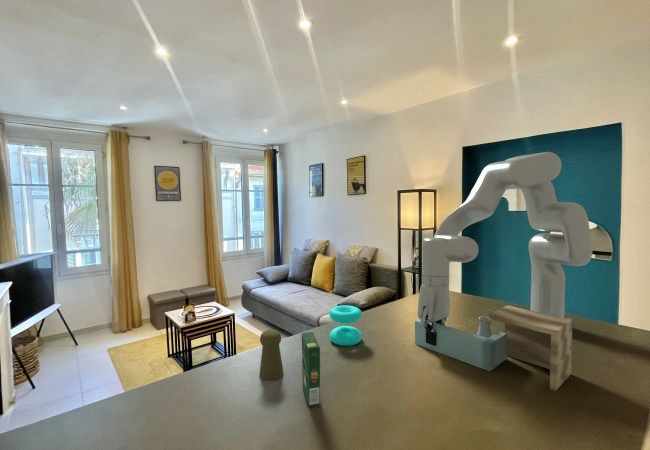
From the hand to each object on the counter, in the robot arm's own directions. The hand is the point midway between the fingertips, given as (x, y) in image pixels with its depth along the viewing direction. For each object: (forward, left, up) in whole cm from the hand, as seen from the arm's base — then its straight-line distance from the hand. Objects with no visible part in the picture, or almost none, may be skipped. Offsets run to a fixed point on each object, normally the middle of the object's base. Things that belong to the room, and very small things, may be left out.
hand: (434, 341), depth 95 cm
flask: (-8, +11, -2) cm, 13 cm away
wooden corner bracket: (-7, +22, -2) cm, 23 cm away
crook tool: (-3, +5, -2) cm, 7 cm away
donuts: (+16, -21, -2) cm, 26 cm away
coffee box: (+42, -4, -2) cm, 42 cm away
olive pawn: (+44, -18, -2) cm, 48 cm away
